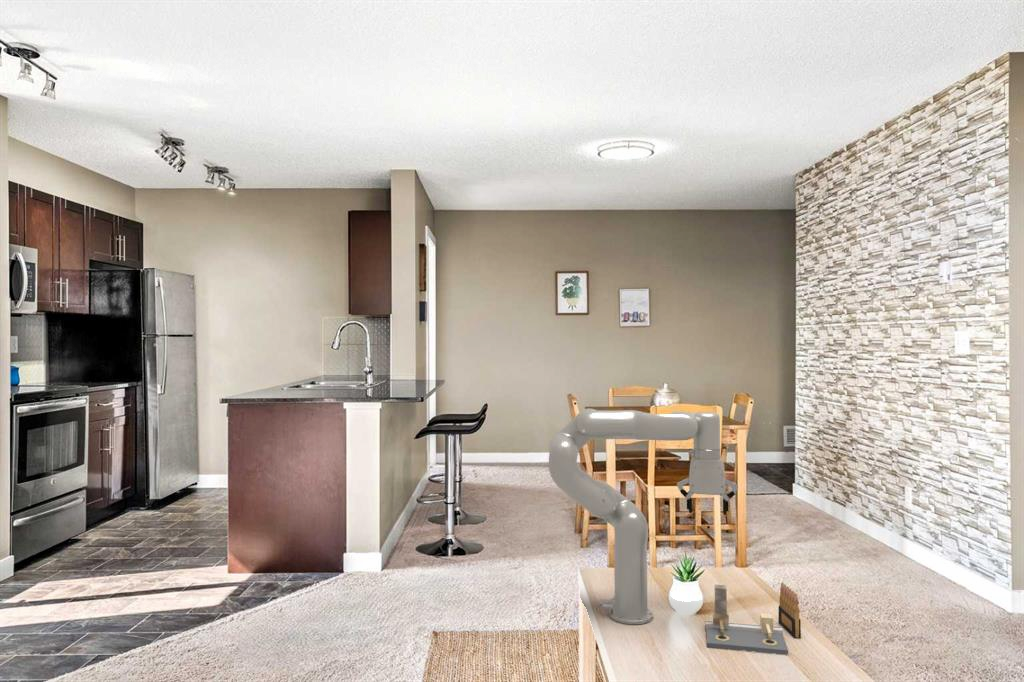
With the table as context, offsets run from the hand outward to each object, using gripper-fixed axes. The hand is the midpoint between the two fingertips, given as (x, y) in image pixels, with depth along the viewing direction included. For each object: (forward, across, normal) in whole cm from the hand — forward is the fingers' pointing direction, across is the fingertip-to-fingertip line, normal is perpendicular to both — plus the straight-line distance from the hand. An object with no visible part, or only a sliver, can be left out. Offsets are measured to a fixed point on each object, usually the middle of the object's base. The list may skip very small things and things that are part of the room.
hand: (707, 512), depth 202 cm
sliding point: (+28, +3, -14) cm, 32 cm away
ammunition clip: (+31, +22, -5) cm, 38 cm away
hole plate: (+30, +9, -14) cm, 35 cm away
